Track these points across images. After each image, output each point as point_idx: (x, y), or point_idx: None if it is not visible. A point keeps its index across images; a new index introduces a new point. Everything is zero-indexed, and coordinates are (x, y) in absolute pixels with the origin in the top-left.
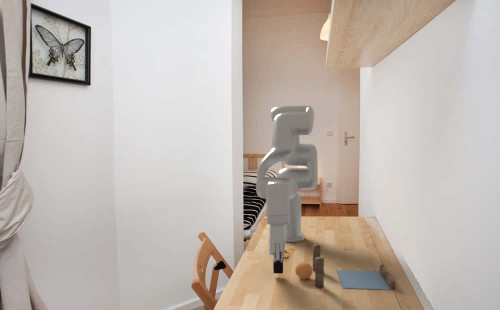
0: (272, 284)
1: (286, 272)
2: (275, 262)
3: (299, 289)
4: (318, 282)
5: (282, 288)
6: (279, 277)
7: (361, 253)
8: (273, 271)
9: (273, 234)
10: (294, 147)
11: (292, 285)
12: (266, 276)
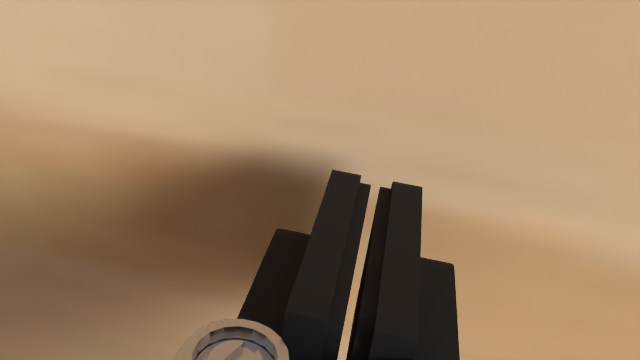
0: (100, 81)
1: (517, 335)
2: (282, 339)
3: (25, 346)
4: None
5: (7, 190)
6: None
7: None
8: (332, 180)
9: None
10: None
11: (108, 309)
12: (407, 17)
